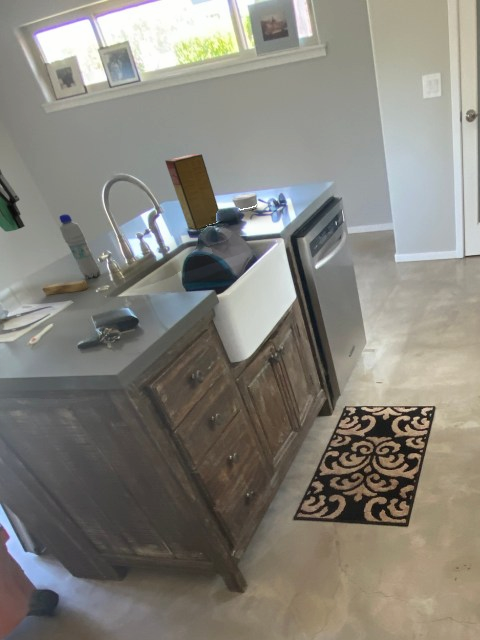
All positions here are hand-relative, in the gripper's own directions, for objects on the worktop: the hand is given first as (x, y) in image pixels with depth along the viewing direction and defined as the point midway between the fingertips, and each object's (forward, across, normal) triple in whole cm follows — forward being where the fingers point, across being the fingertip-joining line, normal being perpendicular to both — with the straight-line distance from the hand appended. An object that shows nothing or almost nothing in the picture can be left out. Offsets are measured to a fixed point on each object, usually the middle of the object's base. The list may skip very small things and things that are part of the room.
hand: (8, 229), depth 171 cm
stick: (+19, -14, +9) cm, 25 cm away
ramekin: (+18, -60, -82) cm, 104 cm away
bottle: (+19, -18, -5) cm, 27 cm away
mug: (+1, -1, 0) cm, 1 cm away
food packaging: (+19, -45, -63) cm, 79 cm away
